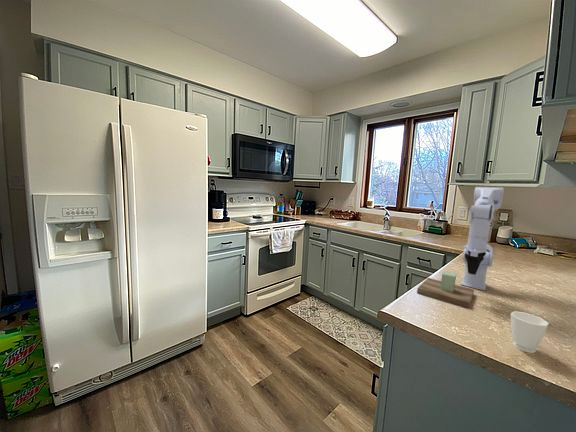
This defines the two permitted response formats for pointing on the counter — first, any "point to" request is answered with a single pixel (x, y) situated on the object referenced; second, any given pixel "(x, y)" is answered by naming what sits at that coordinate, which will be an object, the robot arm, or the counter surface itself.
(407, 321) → the counter surface
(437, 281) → the base board
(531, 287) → the counter surface
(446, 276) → the block
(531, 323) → the cup
